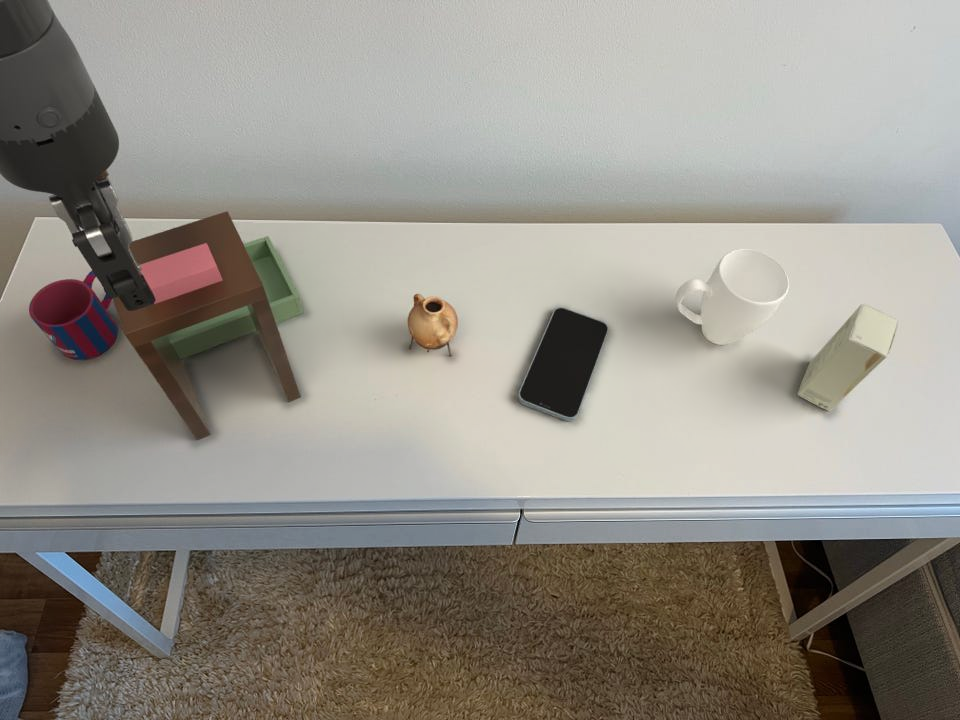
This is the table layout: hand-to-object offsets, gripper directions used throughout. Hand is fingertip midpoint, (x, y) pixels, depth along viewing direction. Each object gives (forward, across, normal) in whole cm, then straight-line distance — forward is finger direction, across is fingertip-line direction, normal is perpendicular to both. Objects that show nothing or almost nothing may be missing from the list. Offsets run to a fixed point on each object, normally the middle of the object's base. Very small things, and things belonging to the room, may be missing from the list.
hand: (127, 266), depth 55 cm
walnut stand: (+26, -2, +3) cm, 26 cm away
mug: (+26, +17, +58) cm, 66 cm away
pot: (+26, +3, +26) cm, 37 cm away
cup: (+26, -17, -8) cm, 32 cm away
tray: (+26, -14, +6) cm, 30 cm away
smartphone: (+26, +13, +39) cm, 49 cm away
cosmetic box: (+26, +30, +66) cm, 77 cm away
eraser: (+4, -1, +3) cm, 6 cm away
